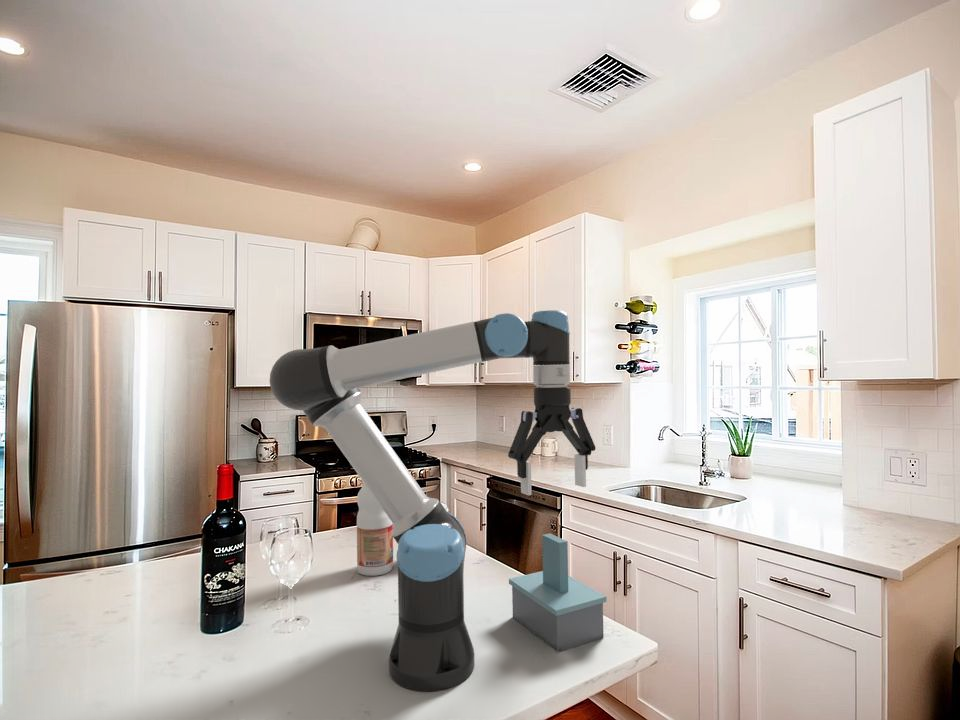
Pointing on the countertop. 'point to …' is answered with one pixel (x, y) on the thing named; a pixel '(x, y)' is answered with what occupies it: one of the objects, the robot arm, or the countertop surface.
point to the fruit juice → (373, 536)
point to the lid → (556, 581)
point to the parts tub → (558, 622)
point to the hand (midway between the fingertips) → (554, 489)
